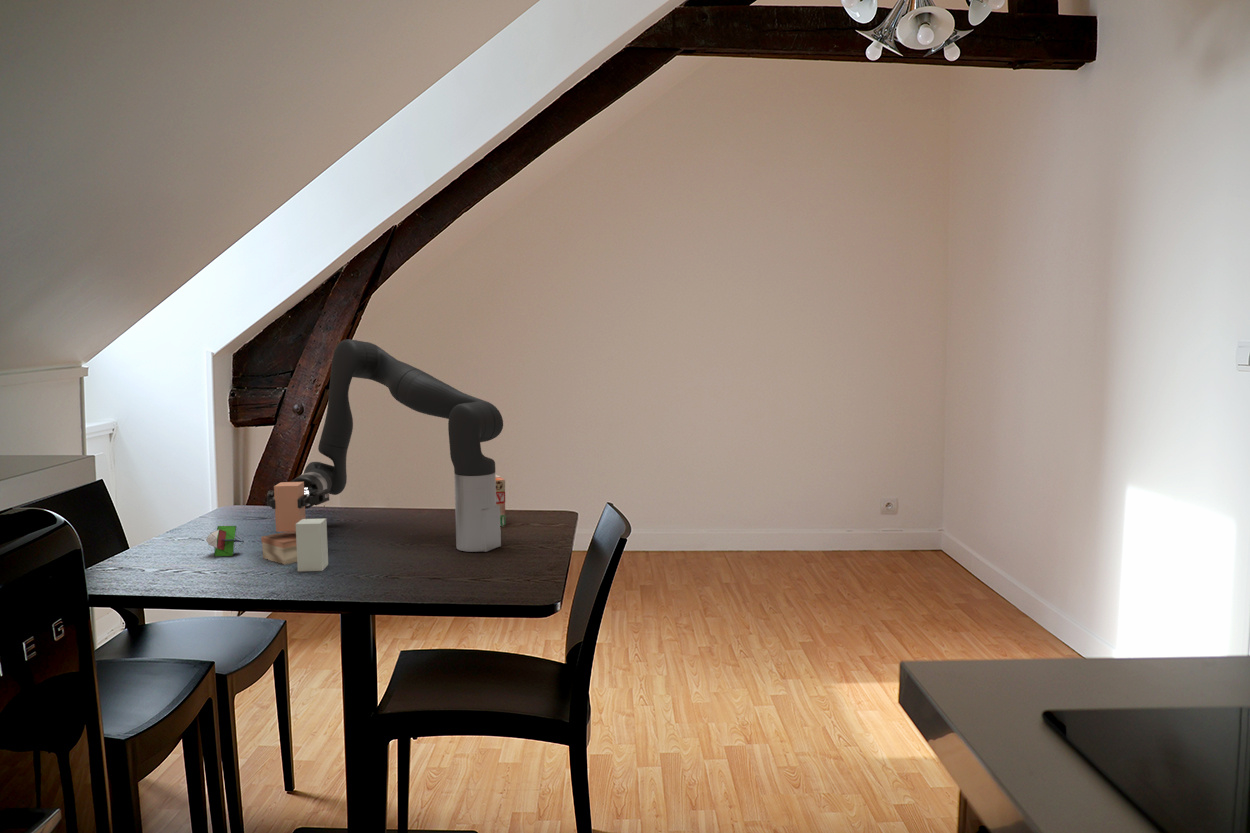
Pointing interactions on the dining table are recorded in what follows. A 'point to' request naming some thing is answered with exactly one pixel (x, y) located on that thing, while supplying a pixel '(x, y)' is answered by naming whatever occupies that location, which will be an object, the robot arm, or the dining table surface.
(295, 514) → the terracotta block
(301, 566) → the sage block
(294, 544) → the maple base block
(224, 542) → the geometric puzzle
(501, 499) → the stack of blocks
